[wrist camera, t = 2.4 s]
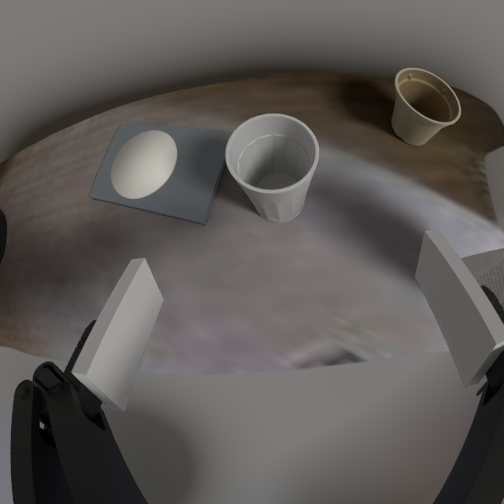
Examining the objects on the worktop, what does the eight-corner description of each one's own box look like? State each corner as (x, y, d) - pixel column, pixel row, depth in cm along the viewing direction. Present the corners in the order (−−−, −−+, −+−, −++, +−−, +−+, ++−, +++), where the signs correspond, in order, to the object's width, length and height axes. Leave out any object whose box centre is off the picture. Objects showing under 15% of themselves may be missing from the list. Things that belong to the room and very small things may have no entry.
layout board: (93, 199, 39) (87, 196, 38) (123, 127, 41) (119, 123, 39) (205, 225, 35) (202, 222, 34) (235, 137, 37) (233, 132, 36)
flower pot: (403, 164, 33) (427, 131, 25) (368, 112, 35) (380, 73, 27) (447, 147, 32) (472, 116, 24) (413, 99, 34) (429, 64, 26)
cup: (249, 169, 36) (230, 114, 24) (311, 170, 35) (317, 114, 23) (244, 228, 35) (220, 192, 23) (311, 231, 33) (319, 195, 22)
